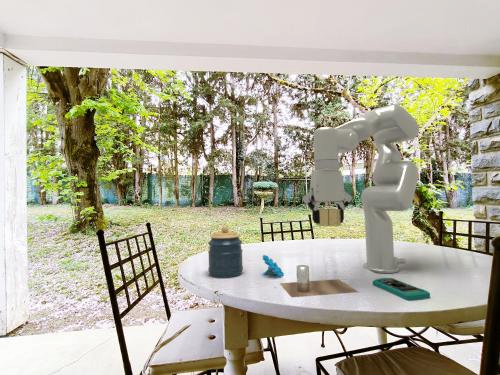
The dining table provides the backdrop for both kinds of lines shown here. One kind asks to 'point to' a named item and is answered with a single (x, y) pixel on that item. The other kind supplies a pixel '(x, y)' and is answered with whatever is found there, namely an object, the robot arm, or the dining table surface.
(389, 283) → the digital multimeter
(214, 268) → the canister
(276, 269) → the gear
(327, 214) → the ring
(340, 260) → the dining table surface
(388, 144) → the robot arm
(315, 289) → the board
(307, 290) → the piston post
